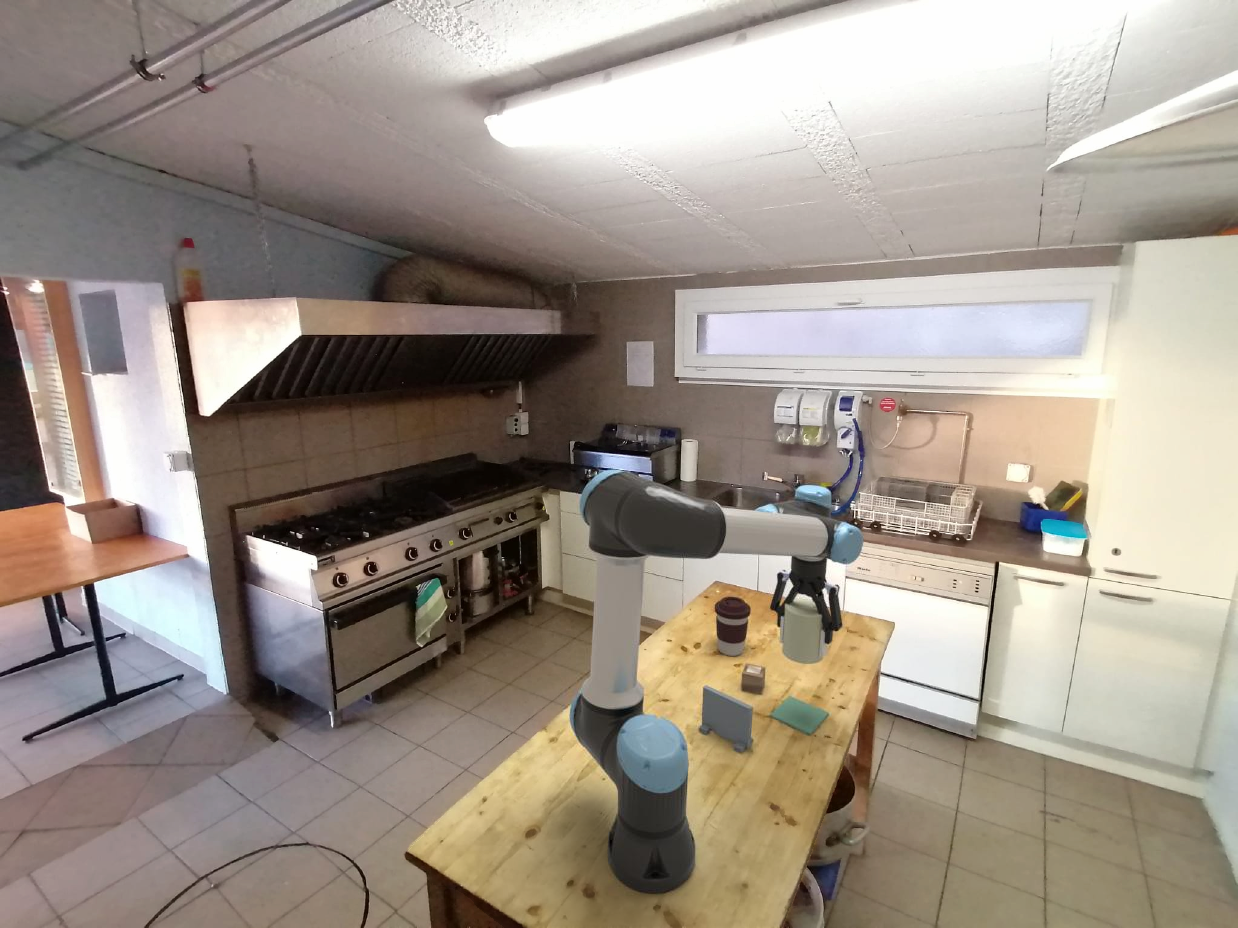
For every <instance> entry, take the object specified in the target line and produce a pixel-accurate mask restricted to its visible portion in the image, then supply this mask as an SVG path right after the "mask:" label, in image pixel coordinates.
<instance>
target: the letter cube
mask: <svg viewBox="0 0 1238 928" xmlns="http://www.w3.org/2000/svg"><path fill="white" fill-rule="evenodd" d="M765 683H766V666H762V665H757V664H752V663H747V662H746V663H745V665H744V667H743V671H742V673H741V688H740V689H741V690H740V691H742V692H746V693H752V694H756V695H759V696H761V695H762V694H763V691H764V687H765Z"/></svg>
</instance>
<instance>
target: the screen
mask: <svg viewBox="0 0 1238 928" xmlns="http://www.w3.org/2000/svg"><path fill="white" fill-rule="evenodd" d="M701 707H702V711H701V714H702V715H701V725H700V726H698V732H699V733H702V734H703V735H705V736H707V735H708V734H709V733H711V732H712V733H714V734H716V735H717V736H720V737H721V738H724V739H725V740H728V741H729V742H731V743H733V746H732V747H733V748H732V750H733V751H736V752H737V753H739V754H742V753H744V752H745V750H746V751H749V750H750V748H751V747H752V744H753V743H754V738H753V737H752V729H753V711H754V706H752V705H750V704H749V703H748V704H747V702H743V701H741V700H739V699H738V698H736V697H733V696H731V695H729V694H727V693H724V692H723V691H720V690H717V689H716V688H713V687H711V686H710V685H708V684H707V685H706V684H705V685H704V686H703V687H702V706H701Z"/></svg>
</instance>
